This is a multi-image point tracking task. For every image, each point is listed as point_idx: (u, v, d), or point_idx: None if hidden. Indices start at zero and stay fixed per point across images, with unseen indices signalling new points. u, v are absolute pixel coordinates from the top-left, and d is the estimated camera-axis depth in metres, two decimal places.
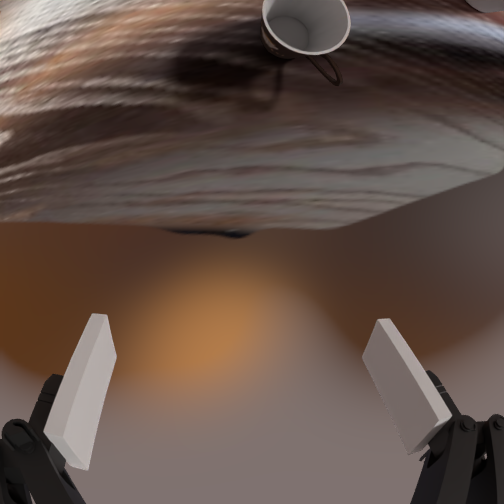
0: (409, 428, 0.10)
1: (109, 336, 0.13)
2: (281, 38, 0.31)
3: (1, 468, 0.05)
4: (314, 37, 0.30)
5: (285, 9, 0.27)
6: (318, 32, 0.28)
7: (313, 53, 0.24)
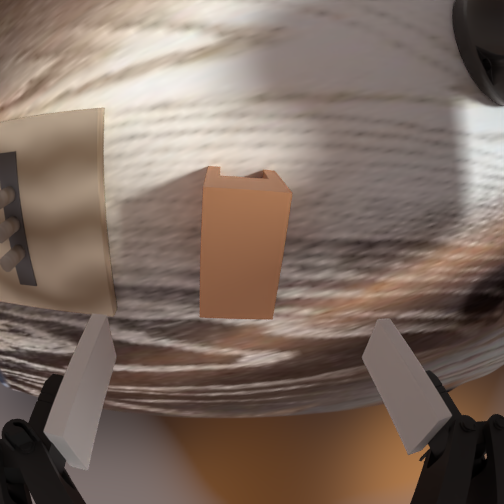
0: (409, 428, 0.10)
1: (109, 336, 0.13)
2: None
3: (1, 468, 0.05)
4: None
5: None
6: None
7: None
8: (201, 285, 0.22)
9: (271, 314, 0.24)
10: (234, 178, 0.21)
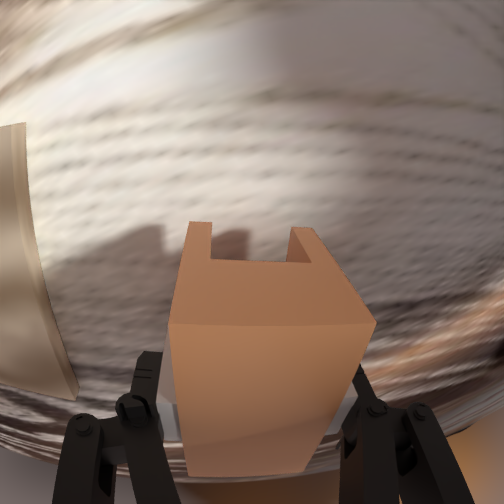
0: None
1: None
2: None
3: (98, 455, 0.07)
4: None
5: None
6: None
7: None
8: (187, 452, 0.10)
9: (302, 468, 0.12)
10: (242, 269, 0.10)
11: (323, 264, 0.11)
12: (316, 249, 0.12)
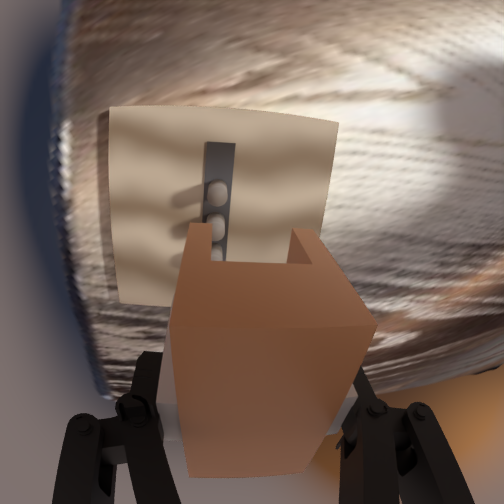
0: None
1: None
2: None
3: (98, 455, 0.07)
4: None
5: None
6: None
7: None
8: (187, 453, 0.10)
9: (302, 469, 0.12)
10: (243, 271, 0.10)
11: (324, 265, 0.11)
12: (317, 250, 0.12)
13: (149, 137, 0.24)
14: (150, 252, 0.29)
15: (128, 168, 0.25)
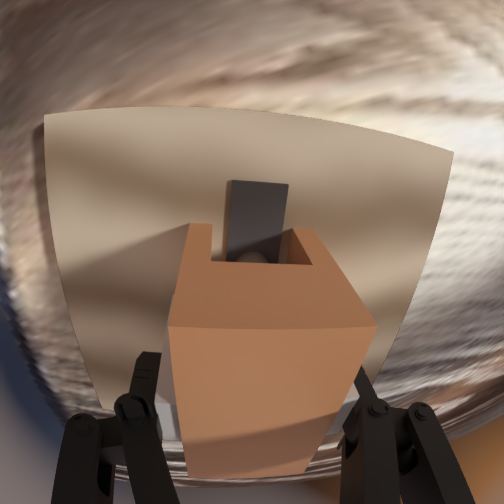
0: None
1: None
2: None
3: (97, 455, 0.07)
4: None
5: None
6: None
7: None
8: (187, 454, 0.10)
9: (302, 470, 0.12)
10: (242, 271, 0.10)
11: (324, 266, 0.11)
12: (317, 251, 0.12)
13: (117, 171, 0.12)
14: None
15: (84, 230, 0.13)
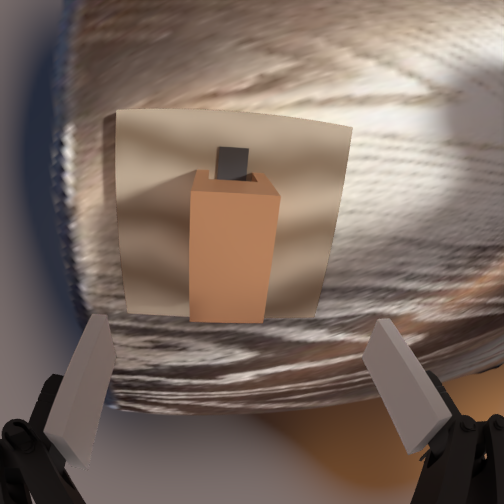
0: (409, 428, 0.10)
1: (109, 336, 0.13)
2: None
3: (1, 468, 0.05)
4: None
5: None
6: None
7: None
8: (190, 289, 0.22)
9: (261, 318, 0.23)
10: (222, 181, 0.21)
11: (263, 182, 0.22)
12: (262, 179, 0.23)
13: (158, 142, 0.23)
14: (159, 261, 0.28)
15: (136, 174, 0.24)
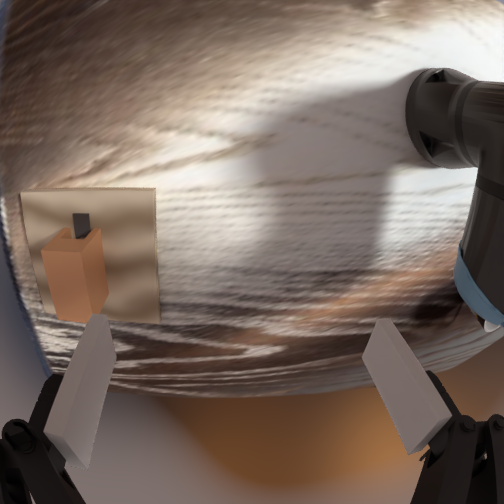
0: (409, 428, 0.10)
1: (109, 336, 0.13)
2: None
3: (1, 468, 0.05)
4: None
5: None
6: None
7: (493, 330, 0.43)
8: (53, 301, 0.33)
9: None
10: (64, 240, 0.32)
11: (86, 239, 0.33)
12: (91, 235, 0.34)
13: (43, 211, 0.34)
14: None
15: (35, 230, 0.35)
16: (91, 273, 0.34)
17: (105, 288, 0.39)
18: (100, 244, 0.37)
